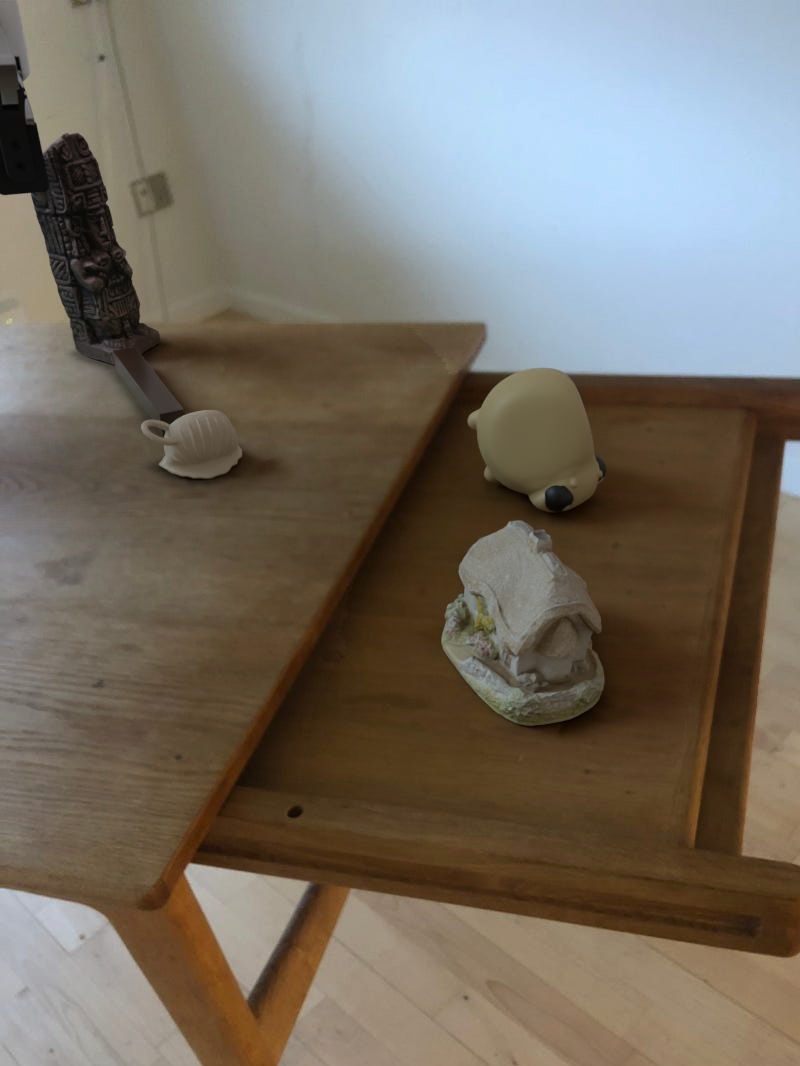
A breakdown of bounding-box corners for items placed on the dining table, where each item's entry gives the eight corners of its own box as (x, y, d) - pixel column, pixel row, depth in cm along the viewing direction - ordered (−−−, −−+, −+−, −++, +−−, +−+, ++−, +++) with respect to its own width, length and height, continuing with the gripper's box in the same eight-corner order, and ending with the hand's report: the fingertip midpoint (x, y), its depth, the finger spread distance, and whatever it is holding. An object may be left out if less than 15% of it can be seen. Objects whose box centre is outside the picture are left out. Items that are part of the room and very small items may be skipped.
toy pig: (497, 543, 83) (579, 514, 74) (433, 416, 80) (509, 371, 72) (568, 499, 88) (652, 467, 80) (510, 379, 86) (589, 333, 77)
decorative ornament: (252, 468, 82) (247, 412, 79) (155, 491, 78) (145, 432, 75) (235, 447, 85) (229, 391, 81) (140, 467, 81) (130, 410, 77)
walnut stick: (163, 436, 85) (159, 414, 84) (116, 372, 94) (112, 350, 92) (187, 431, 86) (184, 409, 85) (138, 368, 95) (135, 346, 93)
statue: (122, 369, 94) (81, 148, 81) (62, 353, 96) (12, 134, 83) (163, 343, 99) (131, 131, 86) (105, 329, 101) (64, 118, 88)
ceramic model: (418, 606, 70) (422, 489, 63) (557, 581, 73) (575, 467, 67) (488, 742, 60) (502, 620, 53) (645, 705, 63) (676, 586, 57)
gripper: (-162, -171, 57) (-74, 141, 69) (-125, -149, 47) (-28, 216, 58) (-27, -162, 61) (36, 134, 72) (37, -140, 50) (99, 204, 61)
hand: (7, 170), depth 65 cm, fingers open, 9 cm apart
